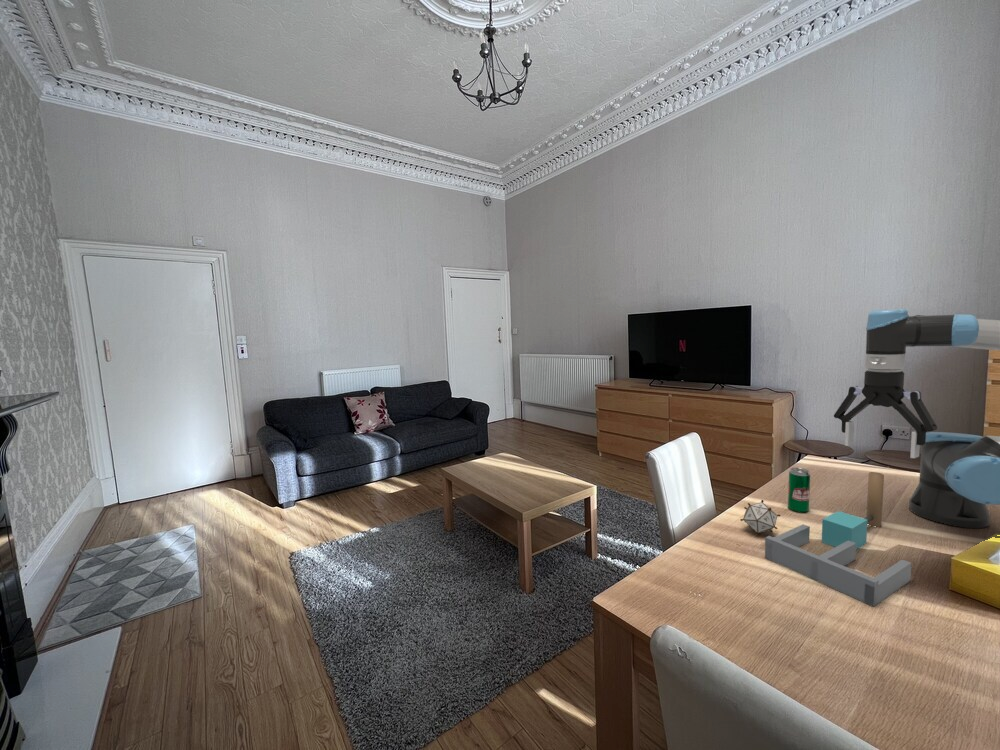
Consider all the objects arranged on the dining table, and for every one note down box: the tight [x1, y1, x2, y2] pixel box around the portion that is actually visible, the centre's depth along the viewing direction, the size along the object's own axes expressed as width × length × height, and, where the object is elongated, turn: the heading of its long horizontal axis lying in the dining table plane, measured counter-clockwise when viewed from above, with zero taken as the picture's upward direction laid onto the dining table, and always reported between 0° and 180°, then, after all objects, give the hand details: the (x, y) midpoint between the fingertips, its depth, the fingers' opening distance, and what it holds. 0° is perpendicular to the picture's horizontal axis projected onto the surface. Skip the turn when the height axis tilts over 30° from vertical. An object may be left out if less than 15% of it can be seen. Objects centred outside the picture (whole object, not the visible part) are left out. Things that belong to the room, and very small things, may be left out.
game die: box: [739, 499, 781, 537], centre depth 110 cm, size 9×8×10 cm
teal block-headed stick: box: [821, 471, 885, 550], centre depth 106 cm, size 22×6×14 cm, turn 119°
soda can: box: [787, 467, 811, 513], centre depth 121 cm, size 5×5×12 cm
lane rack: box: [764, 524, 912, 608], centre depth 93 cm, size 16×20×5 cm
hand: (879, 450), depth 109 cm, fingers open, 13 cm apart
